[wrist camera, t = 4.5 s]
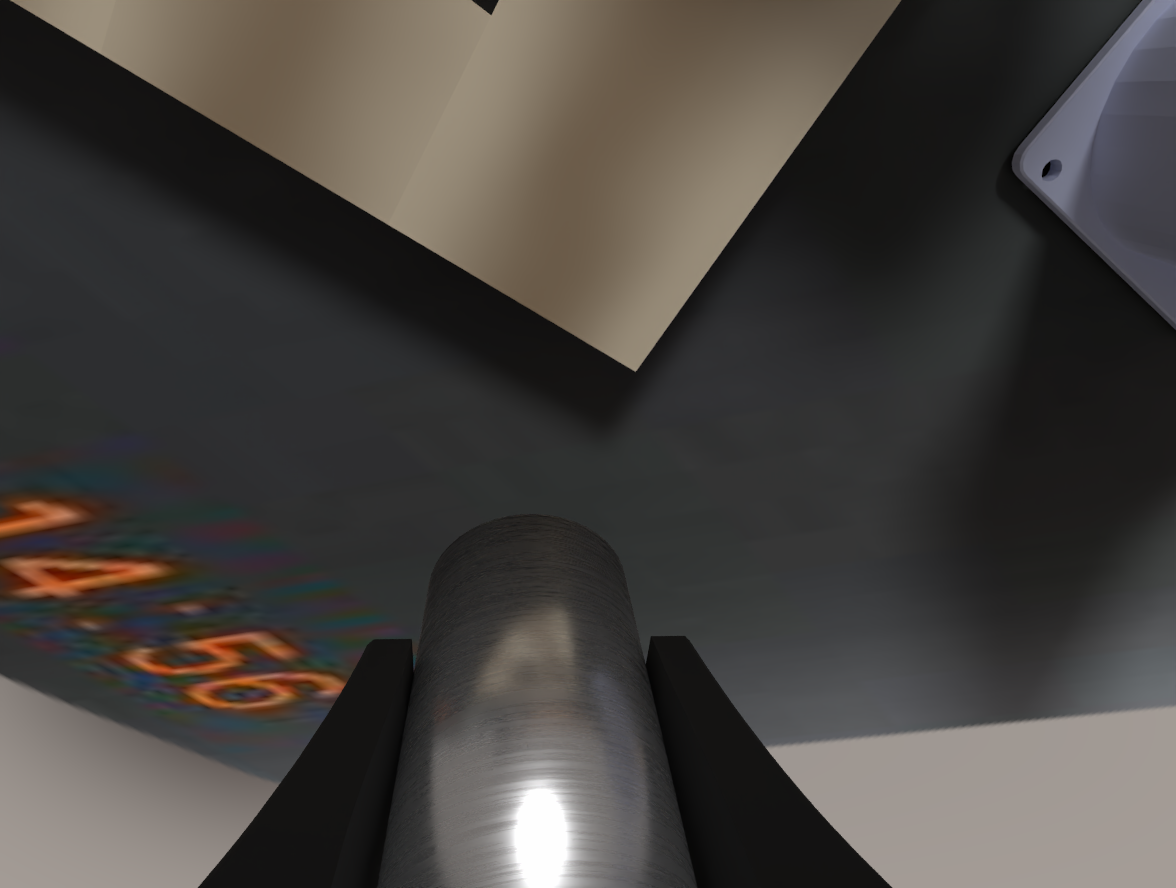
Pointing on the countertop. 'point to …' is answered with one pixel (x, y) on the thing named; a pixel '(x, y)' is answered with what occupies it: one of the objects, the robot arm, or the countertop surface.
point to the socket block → (515, 124)
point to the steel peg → (532, 725)
